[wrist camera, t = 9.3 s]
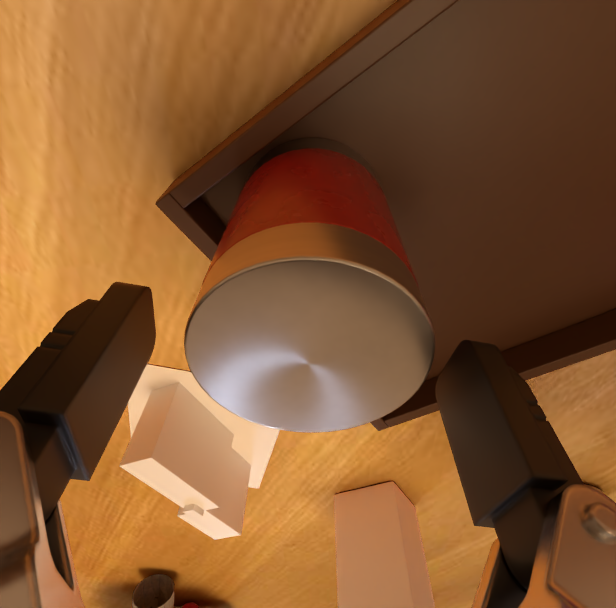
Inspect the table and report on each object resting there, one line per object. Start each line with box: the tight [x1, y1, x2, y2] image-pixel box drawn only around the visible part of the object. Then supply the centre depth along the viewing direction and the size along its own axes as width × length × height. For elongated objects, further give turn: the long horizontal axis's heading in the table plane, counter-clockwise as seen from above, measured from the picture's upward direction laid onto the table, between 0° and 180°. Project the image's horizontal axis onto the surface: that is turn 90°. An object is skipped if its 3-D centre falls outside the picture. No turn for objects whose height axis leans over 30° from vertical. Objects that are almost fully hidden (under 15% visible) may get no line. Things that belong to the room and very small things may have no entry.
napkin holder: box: [119, 364, 280, 540], centre depth 26 cm, size 15×11×6 cm
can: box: [184, 138, 435, 432], centre depth 13 cm, size 6×6×9 cm
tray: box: [156, 0, 616, 431], centre depth 16 cm, size 20×19×2 cm
